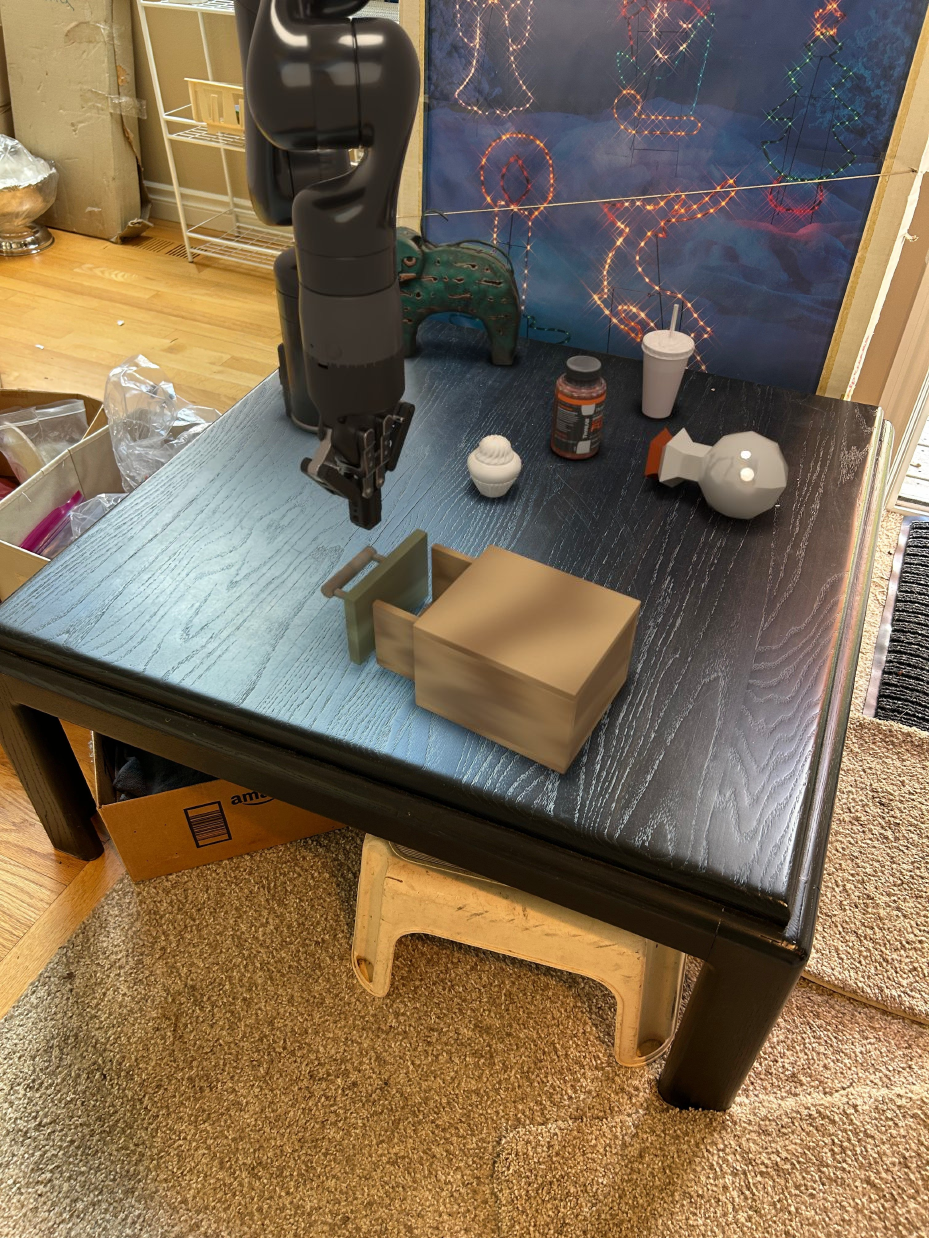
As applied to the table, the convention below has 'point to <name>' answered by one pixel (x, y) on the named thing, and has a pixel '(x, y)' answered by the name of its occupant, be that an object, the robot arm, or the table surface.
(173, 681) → the table surface
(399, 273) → the ceramic cat
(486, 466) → the muffin
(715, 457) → the potion bottle
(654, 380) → the smoothie
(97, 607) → the table surface
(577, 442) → the supplement bottle
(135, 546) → the table surface
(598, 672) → the cabinet
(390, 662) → the drawer
